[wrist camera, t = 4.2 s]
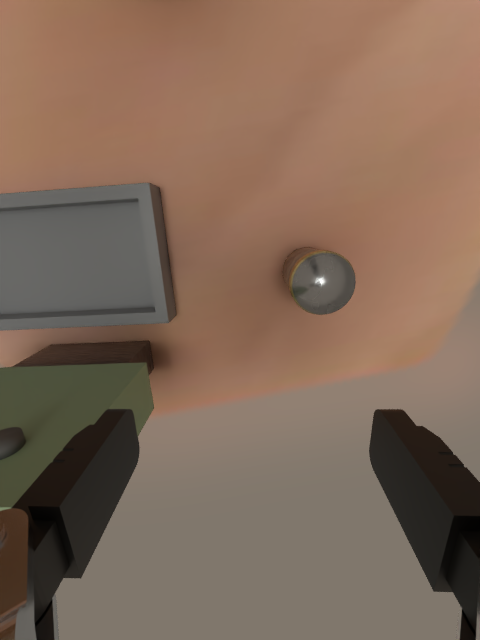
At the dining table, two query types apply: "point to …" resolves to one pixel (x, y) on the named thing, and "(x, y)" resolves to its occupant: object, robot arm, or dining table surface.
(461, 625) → the robot arm
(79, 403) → the control unit
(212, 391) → the dining table surface
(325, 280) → the pin
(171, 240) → the dining table surface
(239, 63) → the dining table surface
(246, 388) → the dining table surface
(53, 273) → the parts tray
